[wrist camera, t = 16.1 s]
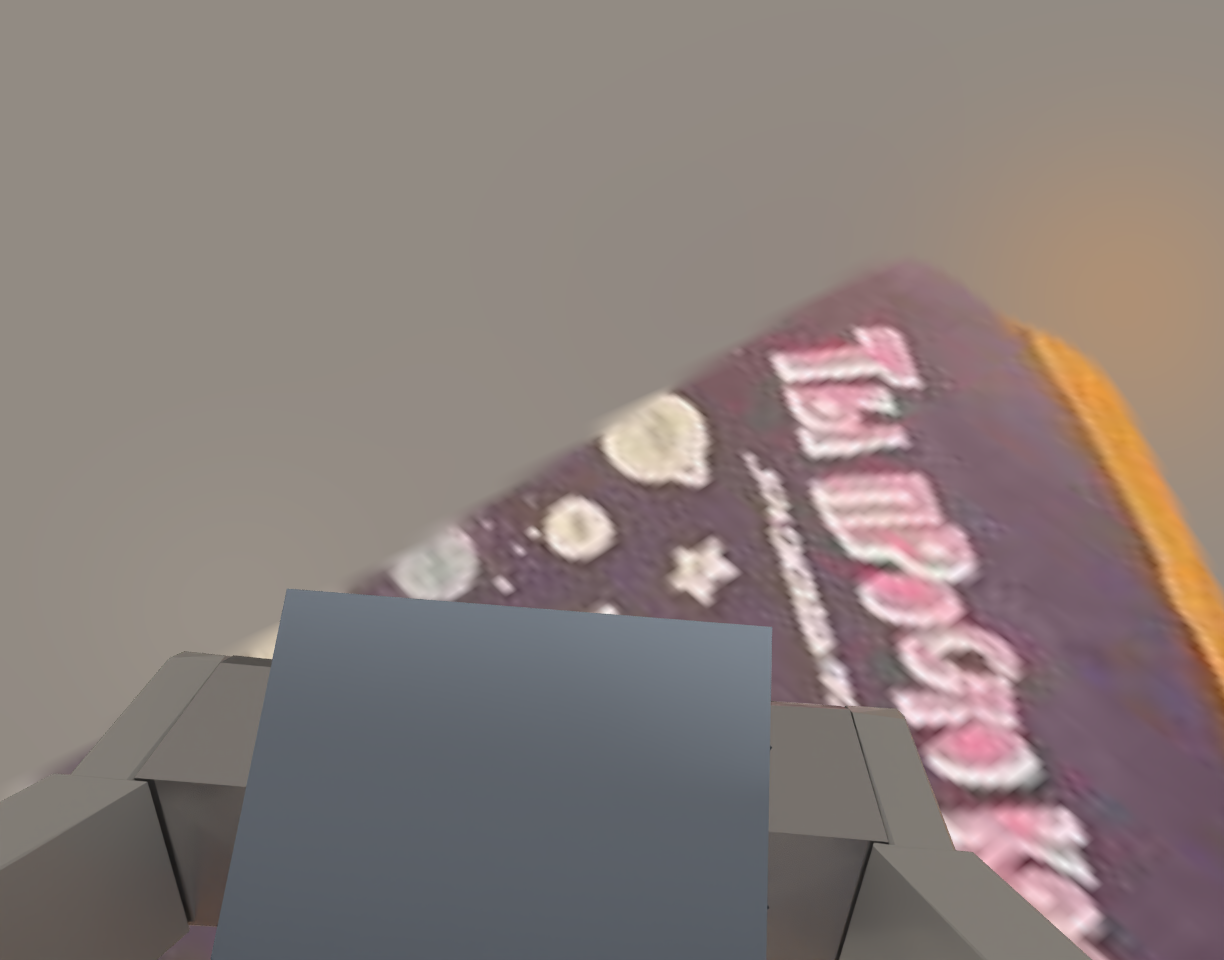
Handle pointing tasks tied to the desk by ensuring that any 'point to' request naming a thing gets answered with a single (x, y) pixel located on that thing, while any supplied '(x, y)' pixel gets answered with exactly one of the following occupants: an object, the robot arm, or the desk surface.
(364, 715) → the slate block
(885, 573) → the desk surface
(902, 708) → the desk surface
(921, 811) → the robot arm
